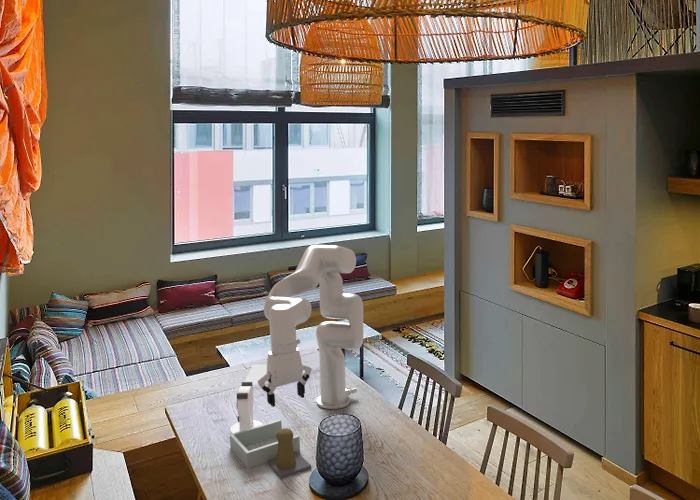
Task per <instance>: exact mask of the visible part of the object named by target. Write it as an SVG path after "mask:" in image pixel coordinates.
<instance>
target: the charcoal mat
mask: <svg viewBox="0 0 700 500" xmlns="http://www.w3.org/2000/svg"><path fill="white" fill-rule="evenodd" d="M294 455H295V460H296V465H295V466H294V467H293V468H290V469H279V468H278V467H277V466H276V460H277V458H274V459H271V460H268V461H267V462H266V464H267V465H268V467H270V469H271V470H272V471H273V472H274V473H275V474H276V475H277V476H278V478H280V479H281V480H283V479H285V478H288V477H291V476H293V475H297V474H299V473H302V472H305V471H308V470H311V469H312V465H311V464H310V463H309V461H307V460H306V459H305V458H304V457H303V456H302V455H301V454H300V453H299V452H296V451H295V452H294Z"/></svg>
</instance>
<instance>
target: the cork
mask: <svg viewBox="0 0 700 500" xmlns="http://www.w3.org/2000/svg"><path fill="white" fill-rule="evenodd" d="M293 437H294V432H293V430H292V429H290V428H287V427H286V428H285V427H284V428H283V427H282V429H280V430H279V431H278V432H277V434H276V436H275V439H276V440H277V441H276V442H278V449H277V460H276V466H277V467H278V468H279V469H290V468H293V467H294V466H295V465H296V460H295V455H294V449H293V444H292V440H293Z"/></svg>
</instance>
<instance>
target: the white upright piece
mask: <svg viewBox="0 0 700 500" xmlns="http://www.w3.org/2000/svg"><path fill="white" fill-rule="evenodd" d="M253 389H254V388H253V381H242V382H241V385H240V387H239V388H238V392H236V410H237V422H236V423H234V424H233V425H231V426H230V428H229V429H230V434H233V433H237V432H240V431H243V430H247V429H250V428H253V427H257V426H260V425H263V424H264V423H262V422H261V421H259V420H255V419H254V390H253Z"/></svg>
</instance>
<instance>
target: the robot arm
mask: <svg viewBox="0 0 700 500" xmlns="http://www.w3.org/2000/svg"><path fill="white" fill-rule="evenodd" d="M356 264H357V257H356V254H355V252H354V251H353V250H352V249H350V248H347V247H346V246H341V245H331V244H330V245H327V244H313V245H310V246H309V247H307V248H306V249H305V250H304V253H303V255H302V257H301V259H300V261H299V263H298V264H297V266H296V268H295V271H294V272H292V273H291V274H289V275H288V276H286V277H284V278H283V279H281V280H278V282H276V283H275V284H274V285H273V286H272V288H271V289H270V291H269V294H268V295H267V297H266V299H265V302H264V307H263V313H264V316H265V318H266V319H267V320H268V321H269V322H268V323H269V336H270V337H269V338H270V351H268V353H267V359H266V374H264V375H263V376H262V377H261V378H259V379H258V380H257V384H258V385H259V387H260V389H261V390H263V391H264V392H266V401H267V403H268V404H269V405H270V406H271V407H272V408H274V407H276V396H275V393H274V392H275V390H276V389H277V388H278V387H282V386H285V385H290V384H292V383H293V384H294V383H296V382H297V383H296V388H297V391H296V393H297V396H299V397H300V398H302V399H304V398H305V393H306V388H305V387H306V384H307V382H308V380H309V378H310V375H311V373H312V370H313V369H312V367H310V366H307V365H303V362H302V358H301V357H302V356H301V354H300V350H299V347H298V345H299V344H301V340H300V338H297V330H296V329H297V326H298V325H300V324H303V323H305V322H307V321H308V320H309V318H310V317H311V315H312V304H311V302H310V301H309V300H308V299H306V298H302V297H292V296H296V295H300V294H304V293H307V292H310V291H312V290H314V289H316V288H317V287H318V285H319V310H320V314H321V316H322V317H323V318H325V319H333V320H344V322H343V321H332V320H328V321H327V320H326V321H323V322H320V323H319V324H318V325H317V327H316V330H315V336H316V342H317V346H318V353H319V355H318V356H319V357H318V359H319V378H320V379H319V380H320V382H319V383H320V395H319V396H318V397H317V398H316V404H317V406H319V407H320V408H323V409H326V410H327V409H328V410H338V409H342V408H345V407H347V406H349V404H350V403H351V398H350V396H351V394H352V395H353V394H356V393H357V392H358V390H357V387H353V388H351V387H349V386H348V387H346V384H347V383H346V357H345V355H344V352H343V350H342V349H346V350H347V349H349V350H357V349H360V348H361V347H362V346H363V343H364V304H363V299H362V298H361V296H360V295H358V294H356V293H345V292H344V289H343V288H344V287H343V278H342V276H341V274H351V273H352V272H353V271H354V270H355V268H356ZM345 320H347V321H348V322H345ZM303 371H305V372H304V373H303ZM266 382H268V384H267V385H266Z"/></svg>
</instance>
